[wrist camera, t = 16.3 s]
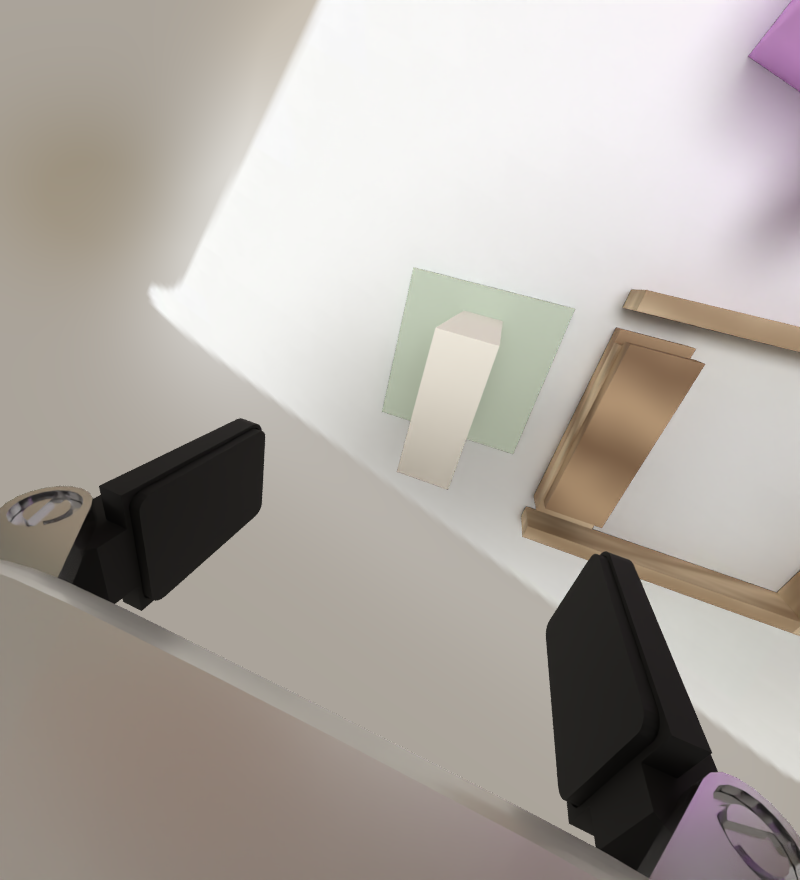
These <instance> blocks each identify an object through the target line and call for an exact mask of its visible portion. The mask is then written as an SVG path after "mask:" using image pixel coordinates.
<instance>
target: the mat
mask: <svg viewBox="0 0 800 880" xmlns="http://www.w3.org/2000/svg"><path fill="white" fill-rule="evenodd" d="M462 311H468V312H472V313H475V314H479V315H482V316H486V317H490V318H493V319H497V320H501V321H503V323H502V331H501V339H500V346H499V349H498V352H497V355H496V358H495V360H494V363H493V366H492V369H491V372H490V374H489V377H488V380H487V383H486V386H485V388H484V391H483V394H482V397H481V400H480V402H479V405H478V408H477V411H476V413H475V416H474V419H473V422H472V425H471V427H470V430H469V433H468V436H467V439H468V440H471V441H474V442H477V443H480V444H483V445H486V446H489V447H492V448H495V449H498V450H501V451H505V452H508V453H511V454H513V453H514V451H515V448H516V446H517V444H518V441H519V439H520V437H521V434H522V432H523V430H524V427H525V425H526V423H527V420H528V418H529V416H530V413H531V411H532V409H533V406H534V404H535V402H536V399H537V397H538V395H539V392H540V390H541V388H542V385H543V383H544V381H545V378H546V376H547V374H548V371H549V369H550V367H551V364H552V362H553V360H554V357H555V355H556V353H557V350H558V348H559V346H560V343H561V341H562V339H563V336H564V334H565V332H566V329H567V327H568V325H569V322H570V320H571V318H572V315H573V313H574V311H575V309H574V308H570V307H566V306H562V305H558V304H554V303H550V302H546V301H543V300H539V299H535V298H531V297H527V296H523V295H519V294H515V293H511V292H507V291H504V290H500V289H496V288H492V287H488V286H484V285H480V284H476V283H472V282H468V281H465V280H461V279H457V278H453V277H449V276H445V275H441V274H437V273H433V272H429V271H426V270H422V269H418V268H413V272H412V277H411V281H410V286H409V291H408V295H407V300H406V304H405V309H404V314H403V318H402V323H401V327H400V332H399V336H398V341H397V346H396V350H395V355H394V359H393V364H392V369H391V373H390V378H389V382H388V387H387V392H386V396H385V401H384V405H383V410H382V412H384V413H387V414H391V415H394V416H397V417H400V418H403V419H406V420H409V421H411V417H412V413H413V410H414V406H415V402H416V398H417V395H418V391H419V387H420V384H421V380H422V376H423V372H424V369H425V365H426V361H427V357H428V354H429V350H430V346H431V343H432V339H433V335H434V331H435V328H436V327H437V326H439V325H441V324H442V323H444V322H446V321H447V320H449V319H451V318H452V317H454V316H456V315H457V314H459V313H461V312H462Z"/></svg>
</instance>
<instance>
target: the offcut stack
mask: <svg viewBox="0 0 800 880" xmlns="http://www.w3.org/2000/svg"><path fill="white" fill-rule="evenodd" d="M695 350H696V349H695V348H692V347H689V346H686V345H682V344H678V343H674V342H670V341H666V340H663V339H659V338H655V337H651V336H647V335H643V334H639V333H636V332H632V331H628V330H624V329H620V328H616V329H615V331H614V333H613V335H612V337H611V339H610V341H609V343H608V345H607V347H606V349H605V351H604V353H603V356H602V358H601V360H600V362H599V364H598V366H597V368H596V370H595V372H594V374H593V376H592V378H591V380H590V382H589V384H588V386H587V388H586V390H585V392H584V394H583V396H582V398H581V400H580V402H579V405H578V407H577V409H576V411H575V413H574V415H573V417H572V419H571V421H570V423H569V425H568V427H567V429H566V431H565V433H564V435H563V437H562V439H561V441H560V443H559V445H558V447H557V449H556V451H555V453H554V456H553V458H552V460H551V462H550V464H549V466H548V468H547V470H546V472H545V474H544V476H543V478H542V480H541V482H540V484H539V486H538V488H537V490H536V492H535V494H534V502H535V505H536V510H538V511H541V512H544V513H546V514H549V515H552V516H555V517H558V518H561V519H564V520H567V521H570V522H573V523H575V524H578V525H581V526H584V527H587V528H590V529H592V528H593V527H594V525H595V526H597V527H600V528H602V527H603V525H604V524H605V522H606V521H607V519H608V517H609V516H610V514H611V513H612V511H613V510H614V508H615V506H616V505H617V503H618V502H619V500H620V498H621V497H622V495H623V494H624V492H625V490H626V489H627V487H628V486H629V484H630V483H631V481H632V479H633V478H634V476H635V475H636V473H637V471H638V470H639V468H640V467H641V465H642V464H643V462H644V460H645V459H646V457H647V456H648V454H649V452H650V451H651V449H652V448H653V446H654V445H655V443H656V441H657V440H658V438H659V437H660V435H661V433H662V432H663V430H664V429H665V427H666V426H667V424H668V422H669V421H670V419H671V418H672V416H673V414H674V413H675V411H676V410H677V408H678V407H679V405H680V403H681V402H682V400H683V399H684V397H685V395H686V394H687V392H688V391H689V389H690V388H691V386H692V384H693V383H694V381H695V380H696V378H697V376H698V375H699V373H700V372H701V370H702V369H703V367H704V365H705V364H704V363H701V362H699V361H696V360H693V359H690V358H691V356H692V355H693V353H694V352H695Z"/></svg>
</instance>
